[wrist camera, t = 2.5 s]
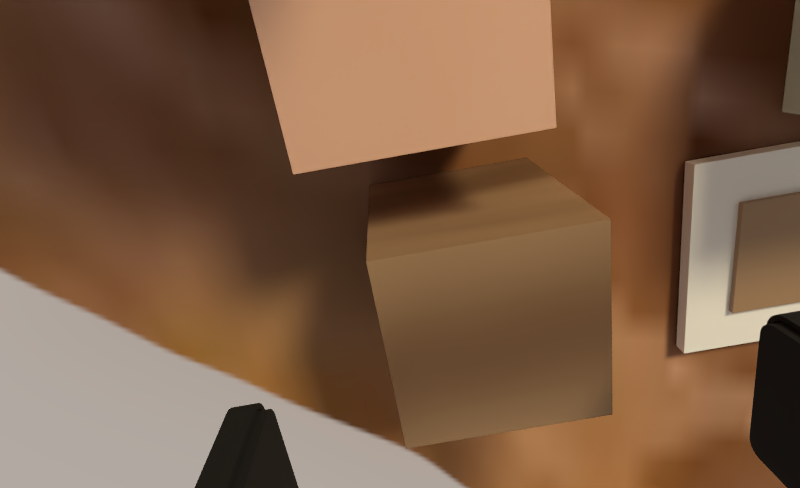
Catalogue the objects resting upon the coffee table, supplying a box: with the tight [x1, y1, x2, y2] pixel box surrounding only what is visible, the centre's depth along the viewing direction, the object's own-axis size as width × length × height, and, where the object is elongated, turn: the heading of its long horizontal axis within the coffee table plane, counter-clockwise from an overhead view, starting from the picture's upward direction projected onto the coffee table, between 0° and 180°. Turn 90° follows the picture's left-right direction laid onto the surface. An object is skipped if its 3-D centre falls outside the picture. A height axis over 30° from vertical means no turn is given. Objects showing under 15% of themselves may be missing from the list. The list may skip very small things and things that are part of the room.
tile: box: [676, 141, 800, 353], centre depth 17 cm, size 7×7×1 cm
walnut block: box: [366, 158, 612, 449], centre depth 14 cm, size 5×5×6 cm
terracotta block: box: [249, 0, 556, 174], centre depth 11 cm, size 5×5×6 cm
